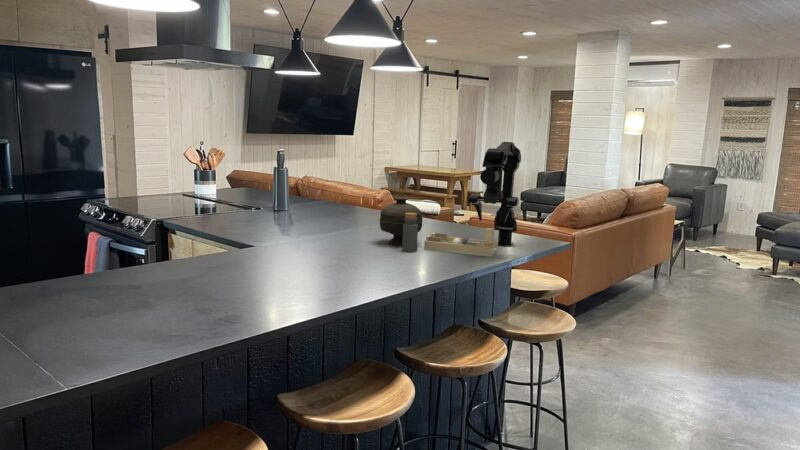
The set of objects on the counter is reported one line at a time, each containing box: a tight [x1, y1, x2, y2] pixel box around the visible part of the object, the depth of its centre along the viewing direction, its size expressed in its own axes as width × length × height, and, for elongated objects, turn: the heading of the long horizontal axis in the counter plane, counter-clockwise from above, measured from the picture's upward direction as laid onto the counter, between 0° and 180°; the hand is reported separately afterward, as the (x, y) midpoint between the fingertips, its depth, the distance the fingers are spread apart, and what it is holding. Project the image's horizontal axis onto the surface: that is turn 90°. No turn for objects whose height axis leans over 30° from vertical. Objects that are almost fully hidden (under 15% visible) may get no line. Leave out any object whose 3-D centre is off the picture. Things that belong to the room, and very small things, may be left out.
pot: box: [379, 196, 423, 247], centre depth 242 cm, size 18×18×20 cm
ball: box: [452, 237, 461, 244], centre depth 236 cm, size 4×4×4 cm
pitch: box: [423, 236, 499, 258], centre depth 235 cm, size 14×27×4 cm, turn 70°
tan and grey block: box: [462, 227, 495, 250], centre depth 232 cm, size 5×12×8 cm, turn 70°
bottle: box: [401, 213, 419, 253], centre depth 229 cm, size 6×6×15 cm
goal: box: [425, 232, 448, 243], centre depth 238 cm, size 10×6×4 cm, turn 160°
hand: (492, 221), depth 225 cm, fingers open, 9 cm apart
